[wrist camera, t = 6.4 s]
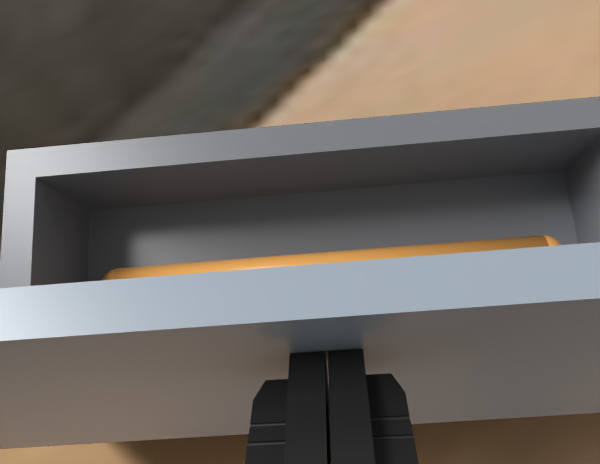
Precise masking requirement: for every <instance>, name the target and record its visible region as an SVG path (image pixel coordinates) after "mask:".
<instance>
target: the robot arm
mask: <svg viewBox="0 0 600 464" xmlns="http://www.w3.org/2000/svg"><path fill="white" fill-rule="evenodd" d="M328 376H329V384H328ZM245 464H418V459H417V453H416V448H415V443H414V439H413V432H412V426H411V421H410V415H409V410H408V404H407V399H406V393H405V391H404V390H403V388H402V387H401V386H400V384H399V383H398V382H397V380H396V379H395V378H394V376H393V375H392V374H391V373H387V374H368V375H366V371H365V362H364V353H363V349H353V350H336V351H328V374H327V363H326V355H325V351H321V352H305V353H290V356H289V373H288V379H278V380H265V382H264V383H263V385H262V387H261V388H260V390H259V391H258V393H257V395H256V396H255V398H254V399H253V403H252V412H251V420H250V428H249V437H248V447H247V453H246V462H245Z"/></svg>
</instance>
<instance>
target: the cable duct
mask: <svg viewBox="0 0 600 464" xmlns="http://www.w3.org/2000/svg"><path fill="white" fill-rule="evenodd" d="M596 242H600V97H589V98H578V99H567V100H556V101H545V102H534V103H523V104H512V105H501V106H490V107H479V108H468V109H457V110H446V111H436V112H425V113H414V114H403V115H392V116H381V117H370V118H359V119H348V120H337V121H326V122H315V123H304V124H293V125H282V126H271V127H260V128H249V129H238V130H227V131H216V132H205V133H194V134H183V135H172V136H161V137H150V138H139V139H128V140H117V141H107V142H96V143H85V144H74V145H63V146H52V147H41V148H30V149H19V150H8V151H7V161H6V178H5V194H4V210H3V226H2V243H1V259H0V288H11V287H24V286H37V285H50V284H63V283H76V282H89V281H102V280H115V279H128V278H141V277H154V276H167V275H180V274H193V273H206V272H219V271H232V270H245V269H258V268H271V267H284V266H297V265H310V264H323V263H336V262H349V261H362V260H375V259H388V258H401V257H414V256H427V255H440V254H453V253H466V252H479V251H492V250H505V249H518V248H531V247H544V246H557V245H570V244H583V243H596Z"/></svg>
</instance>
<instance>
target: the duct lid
mask: <svg viewBox="0 0 600 464" xmlns="http://www.w3.org/2000/svg"><path fill="white" fill-rule="evenodd" d="M353 349H363V353H364V362H365V371H366V375H368V374H387V373H391V374H392V375H393V376H394V378H395V379H396V380H397V382H398V383H399V384H400V386H401V387H402V388H403V390H404V391H405V393H406V399H407V404H408V410H409V415H410V421H411V424H423V423H440V422H456V421H473V420H489V419H506V418H523V417H539V416H556V415H572V414H589V413H600V242H596V243H583V244H570V245H557V246H544V247H531V248H518V249H505V250H492V251H479V252H466V253H453V254H440V255H427V256H414V257H401V258H388V259H375V260H362V261H349V262H336V263H323V264H310V265H297V266H284V267H271V268H258V269H245V270H232V271H219V272H206V273H193V274H180V275H167V276H154V277H141V278H128V279H115V280H102V281H89V282H76V283H63V284H50V285H37V286H24V287H11V288H0V449H8V448H25V447H42V446H58V445H75V444H91V443H108V442H125V441H141V440H158V439H174V438H191V437H207V436H224V435H241V434H249V428H250V420H251V412H252V403H253V399H254V398H255V396H256V395H257V393H258V391H259V390H260V388H261V387H262V385H263V383H264V382H265V380H278V379H288V373H289V356H290V353H305V352H321V351H325V355H326V363H327V374H328V351H336V350H353ZM328 384H329V376H328Z"/></svg>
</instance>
